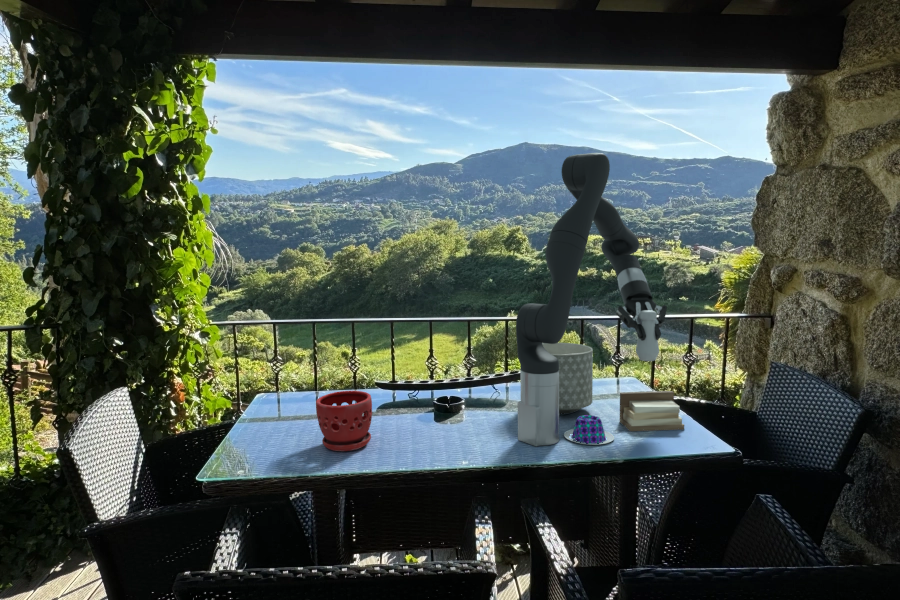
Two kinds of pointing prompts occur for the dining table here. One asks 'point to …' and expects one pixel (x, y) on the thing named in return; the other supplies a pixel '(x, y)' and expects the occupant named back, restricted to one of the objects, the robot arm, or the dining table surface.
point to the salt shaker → (648, 337)
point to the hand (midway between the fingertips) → (650, 338)
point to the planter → (573, 375)
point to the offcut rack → (649, 411)
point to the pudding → (589, 431)
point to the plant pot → (345, 419)
